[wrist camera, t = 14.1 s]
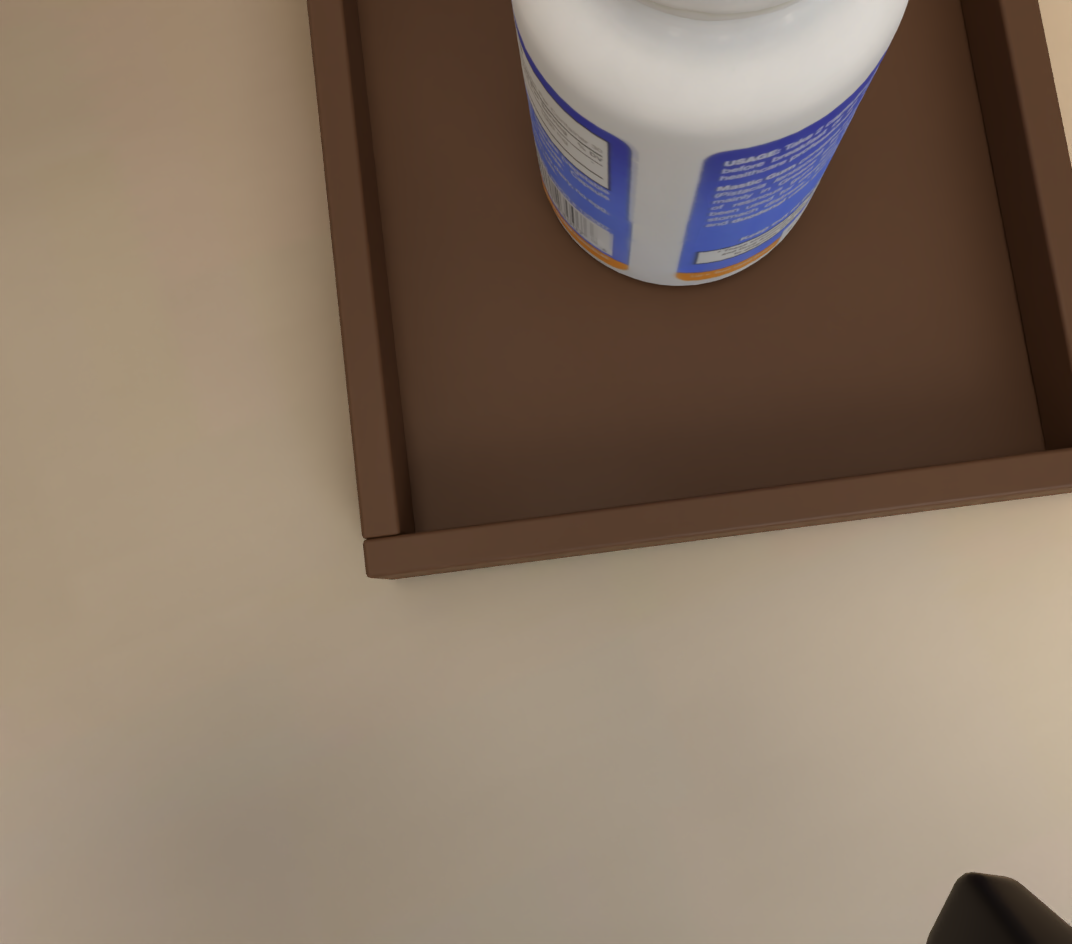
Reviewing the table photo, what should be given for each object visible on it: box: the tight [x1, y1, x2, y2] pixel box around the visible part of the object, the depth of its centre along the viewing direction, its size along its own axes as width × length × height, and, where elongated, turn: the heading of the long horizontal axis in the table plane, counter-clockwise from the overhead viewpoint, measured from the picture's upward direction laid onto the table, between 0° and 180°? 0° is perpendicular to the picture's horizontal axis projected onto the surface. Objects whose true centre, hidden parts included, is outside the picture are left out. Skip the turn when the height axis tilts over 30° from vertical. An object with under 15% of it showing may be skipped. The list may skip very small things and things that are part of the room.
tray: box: [307, 0, 1072, 579], centre depth 19 cm, size 15×13×2 cm
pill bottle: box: [511, 0, 909, 286], centre depth 15 cm, size 5×5×10 cm
